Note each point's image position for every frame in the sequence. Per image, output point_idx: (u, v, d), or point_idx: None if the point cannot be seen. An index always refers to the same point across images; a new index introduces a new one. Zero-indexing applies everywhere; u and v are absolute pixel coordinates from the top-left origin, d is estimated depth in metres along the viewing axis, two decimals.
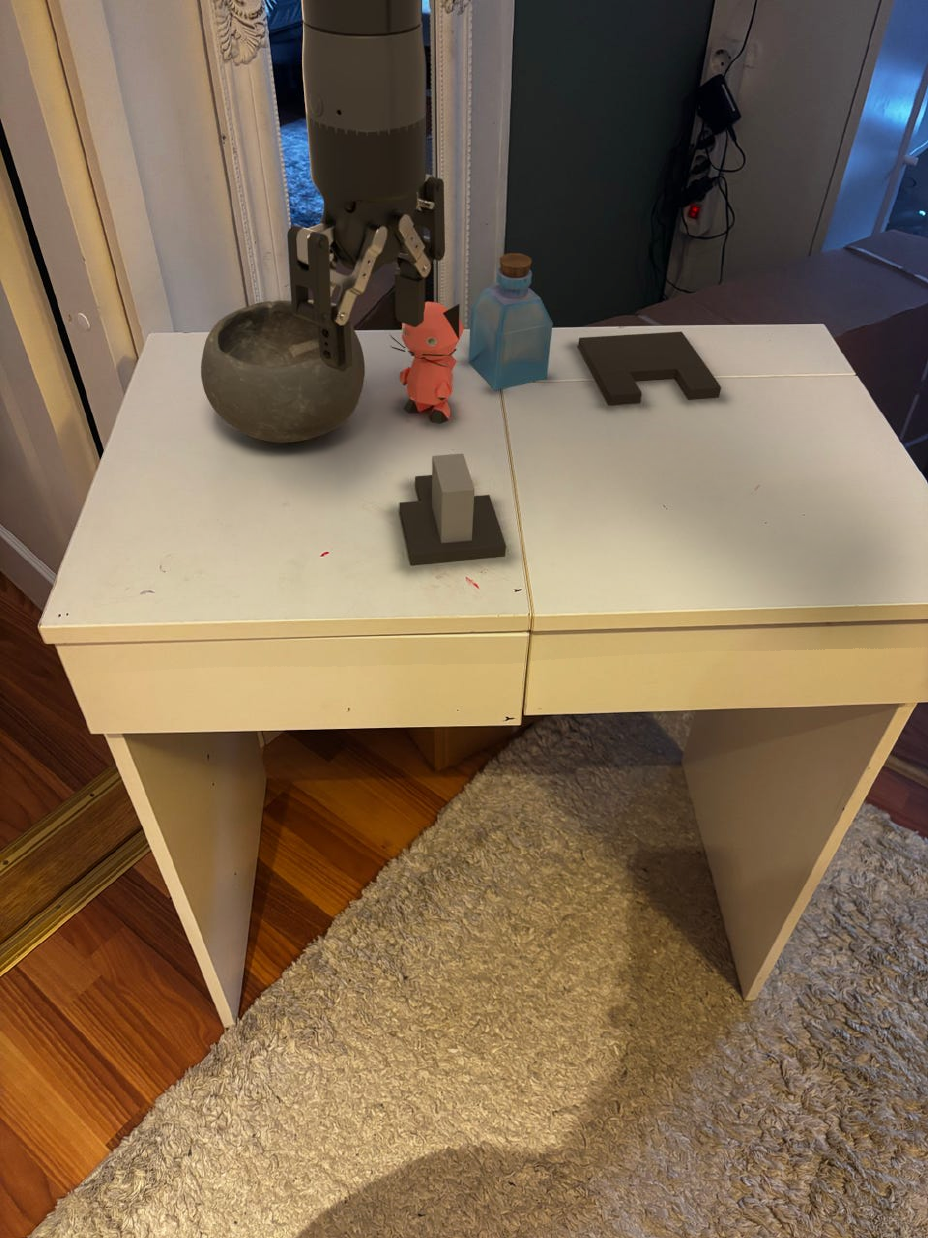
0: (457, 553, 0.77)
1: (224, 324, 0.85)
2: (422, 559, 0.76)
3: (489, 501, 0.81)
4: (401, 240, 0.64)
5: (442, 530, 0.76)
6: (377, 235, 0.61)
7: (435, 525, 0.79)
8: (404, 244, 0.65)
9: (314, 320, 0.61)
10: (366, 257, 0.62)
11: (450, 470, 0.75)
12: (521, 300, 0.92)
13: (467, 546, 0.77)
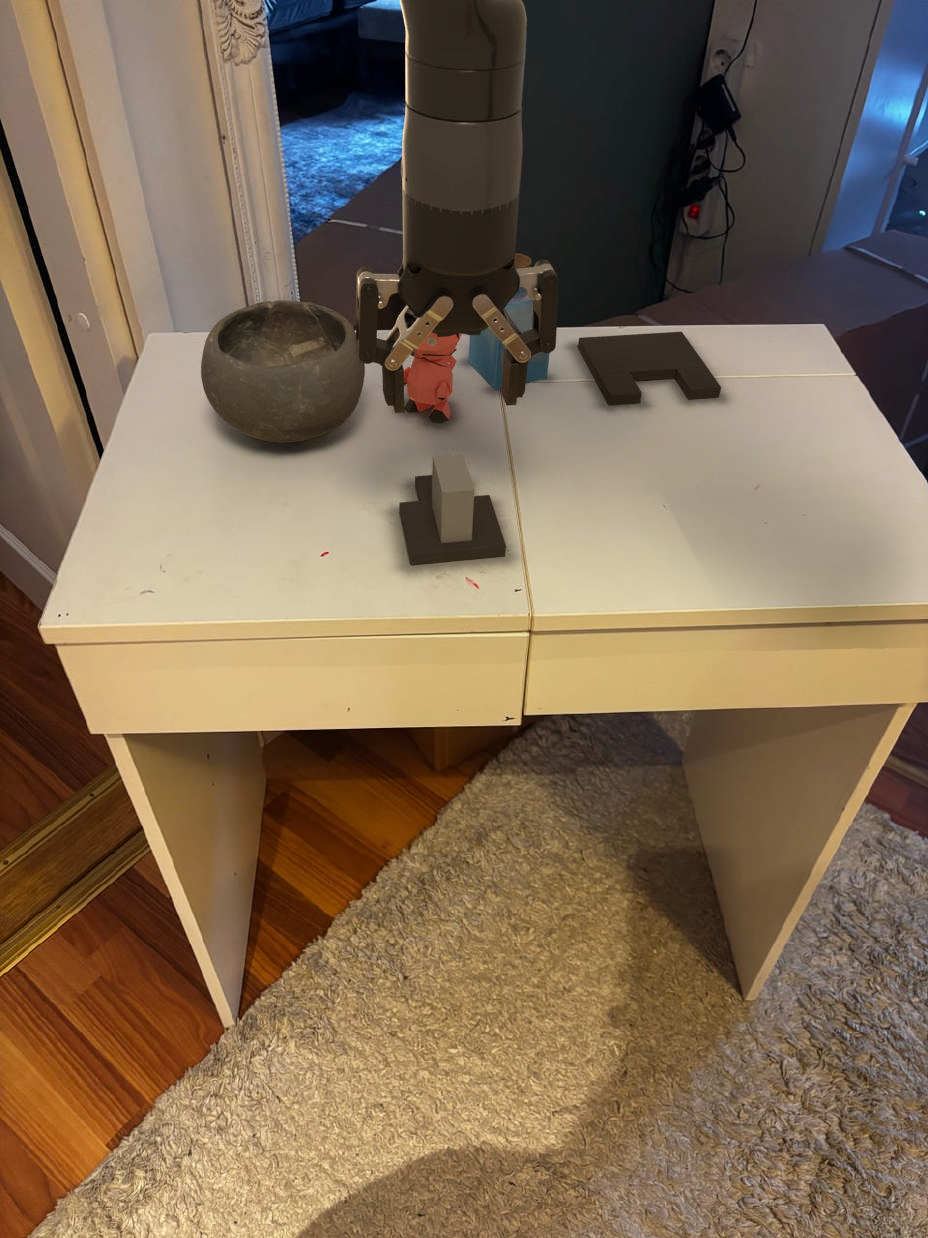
0: (457, 553, 0.77)
1: (224, 324, 0.85)
2: (422, 559, 0.76)
3: (489, 501, 0.81)
4: (483, 317, 0.65)
5: (442, 530, 0.76)
6: (437, 302, 0.63)
7: (435, 525, 0.79)
8: (486, 322, 0.65)
9: None
10: (423, 318, 0.63)
11: (450, 470, 0.75)
12: (521, 300, 0.92)
13: (467, 546, 0.77)
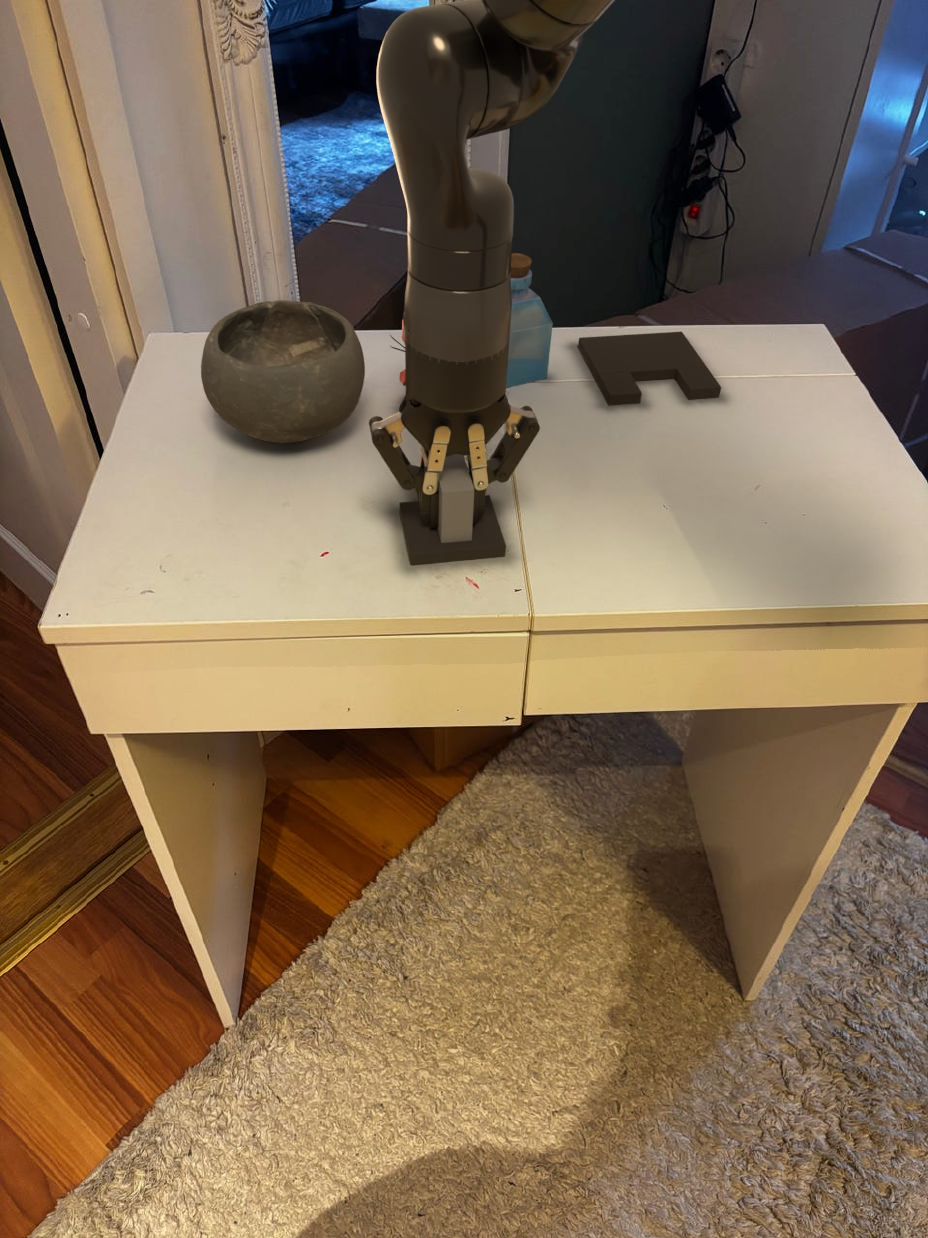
0: (457, 553, 0.77)
1: (224, 324, 0.85)
2: (422, 559, 0.76)
3: (489, 501, 0.81)
4: (468, 441, 0.72)
5: (442, 530, 0.76)
6: (436, 431, 0.70)
7: None
8: (469, 446, 0.72)
9: None
10: (433, 449, 0.71)
11: (450, 470, 0.75)
12: (521, 300, 0.92)
13: (467, 546, 0.77)
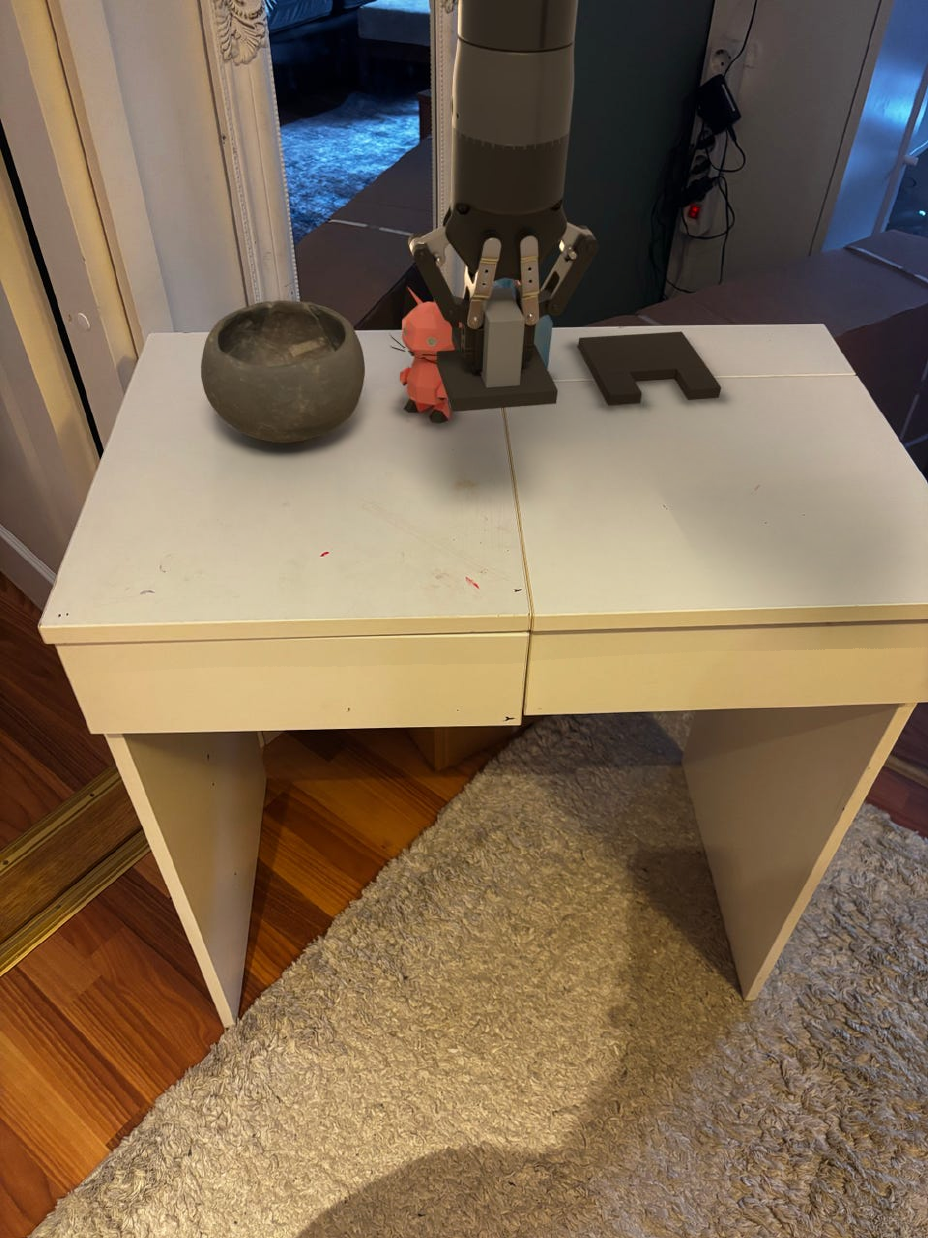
0: (504, 398, 0.69)
1: (224, 324, 0.85)
2: (465, 404, 0.69)
3: (535, 350, 0.74)
4: (519, 261, 0.64)
5: (488, 371, 0.68)
6: (485, 244, 0.62)
7: None
8: (520, 266, 0.64)
9: None
10: (480, 268, 0.64)
11: (496, 302, 0.68)
12: None
13: (515, 390, 0.69)
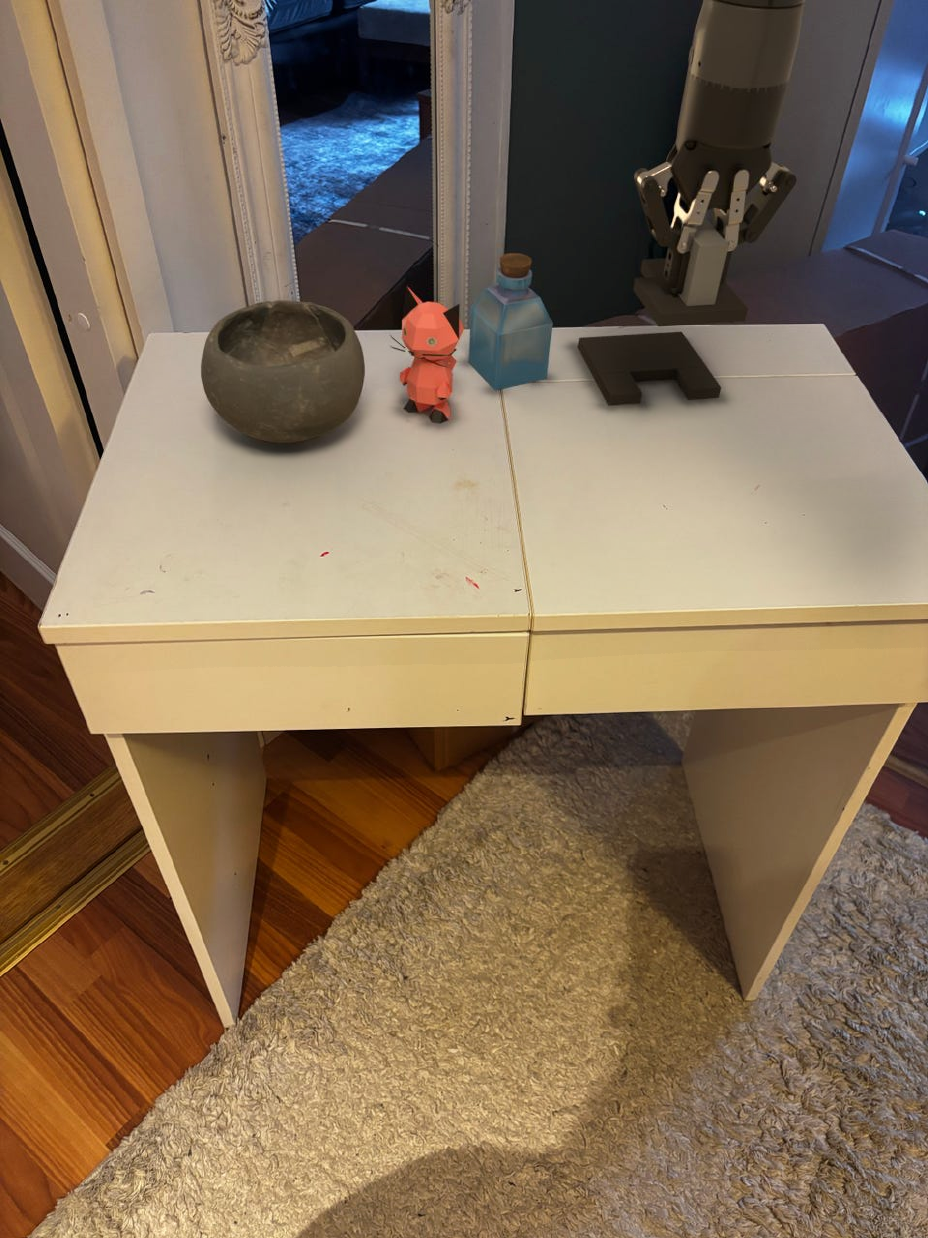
0: (702, 314, 0.80)
1: (224, 324, 0.85)
2: (670, 320, 0.80)
3: None
4: (730, 192, 0.75)
5: (691, 291, 0.79)
6: (706, 176, 0.73)
7: None
8: (730, 197, 0.75)
9: (656, 239, 0.77)
10: (698, 198, 0.75)
11: (700, 231, 0.79)
12: (521, 300, 0.92)
13: (712, 308, 0.80)
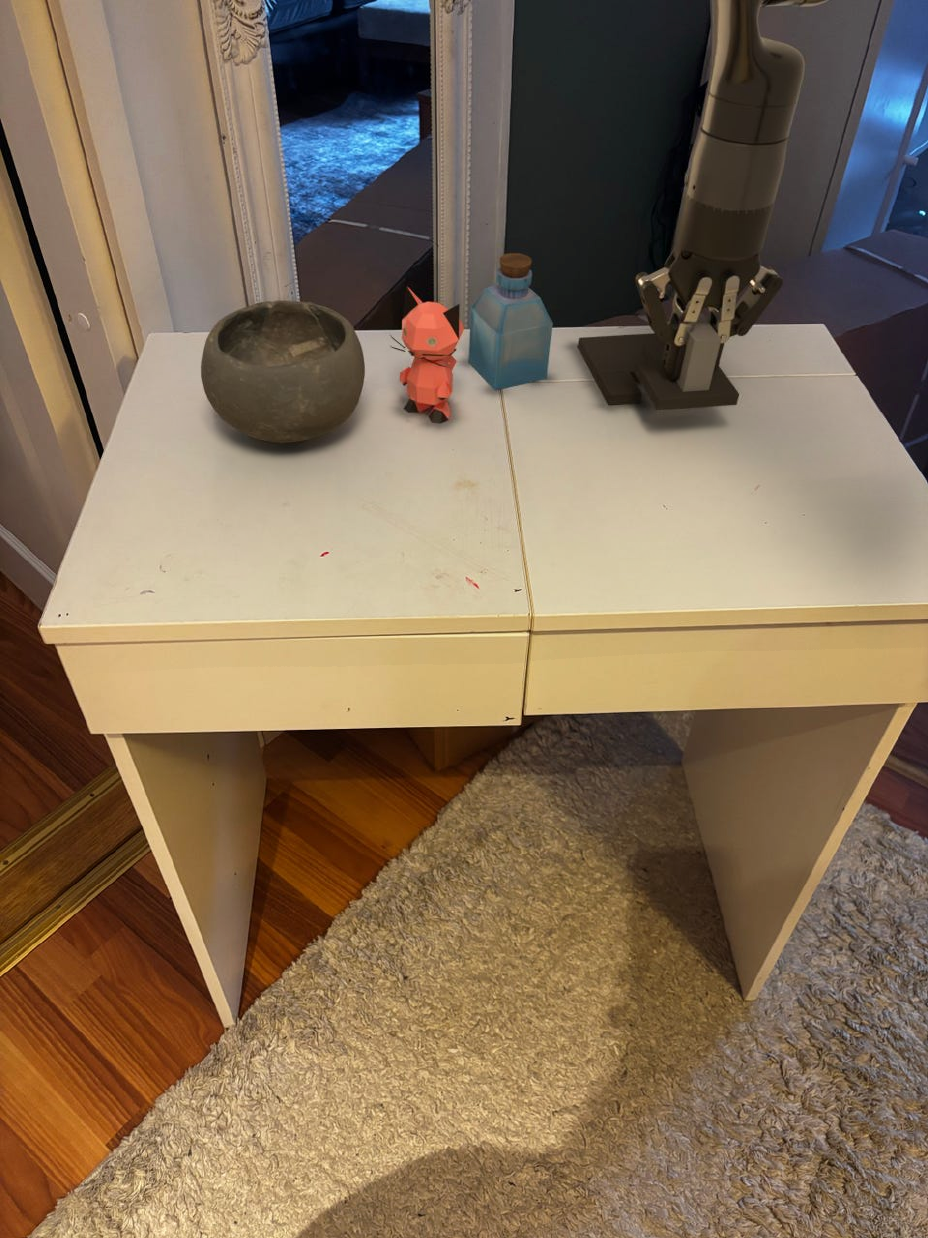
0: (697, 400, 0.88)
1: (224, 324, 0.85)
2: (668, 405, 0.87)
3: None
4: (722, 294, 0.83)
5: (687, 379, 0.87)
6: (700, 282, 0.81)
7: None
8: (722, 298, 0.83)
9: (655, 333, 0.85)
10: (693, 300, 0.82)
11: (696, 325, 0.86)
12: (521, 300, 0.92)
13: (706, 394, 0.88)
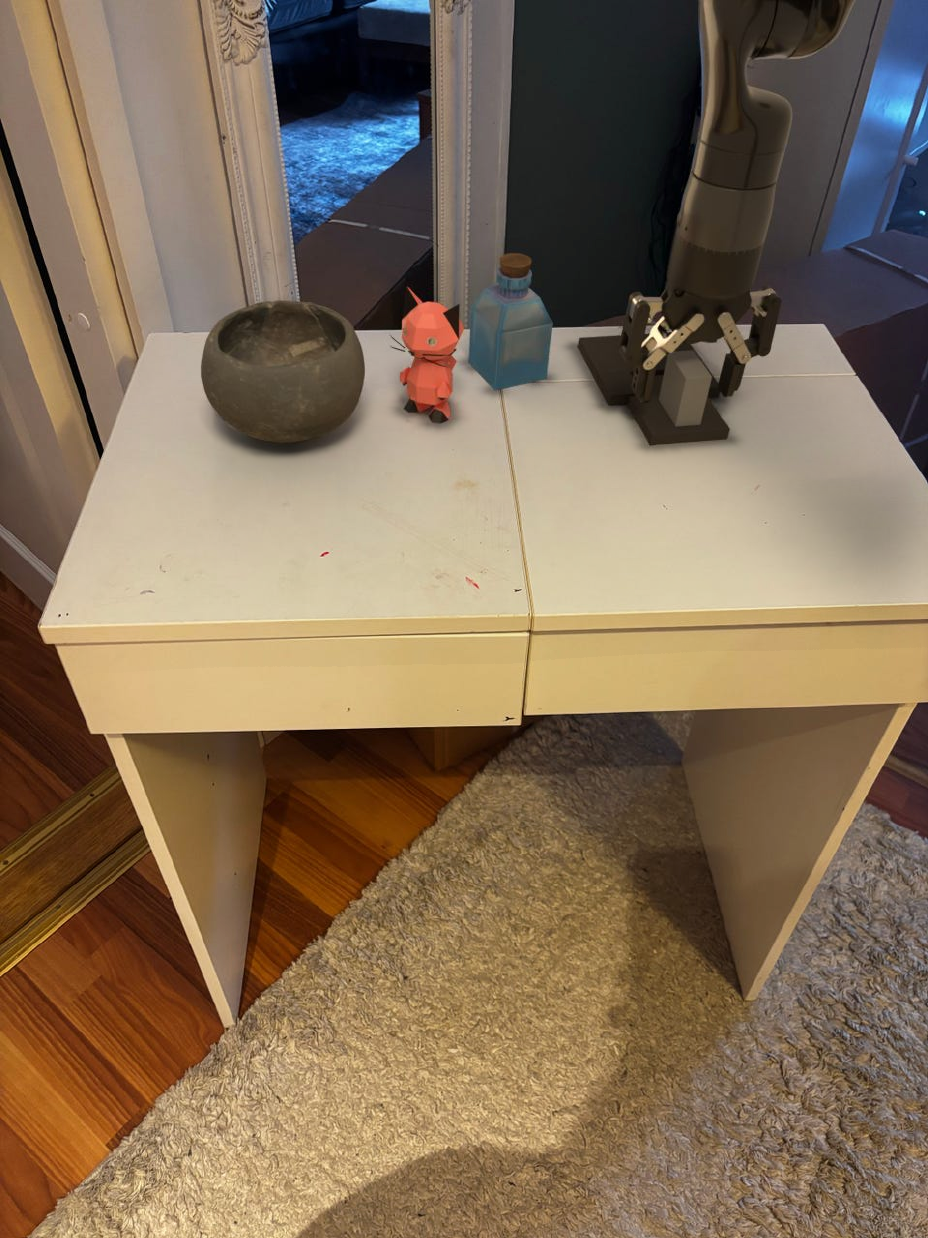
0: (689, 434, 0.90)
1: (224, 324, 0.85)
2: (660, 439, 0.90)
3: None
4: (721, 329, 0.85)
5: (679, 414, 0.90)
6: (693, 318, 0.83)
7: (666, 413, 0.92)
8: (723, 332, 0.85)
9: (624, 358, 0.86)
10: (680, 330, 0.84)
11: (687, 362, 0.89)
12: (521, 300, 0.92)
13: (698, 429, 0.90)
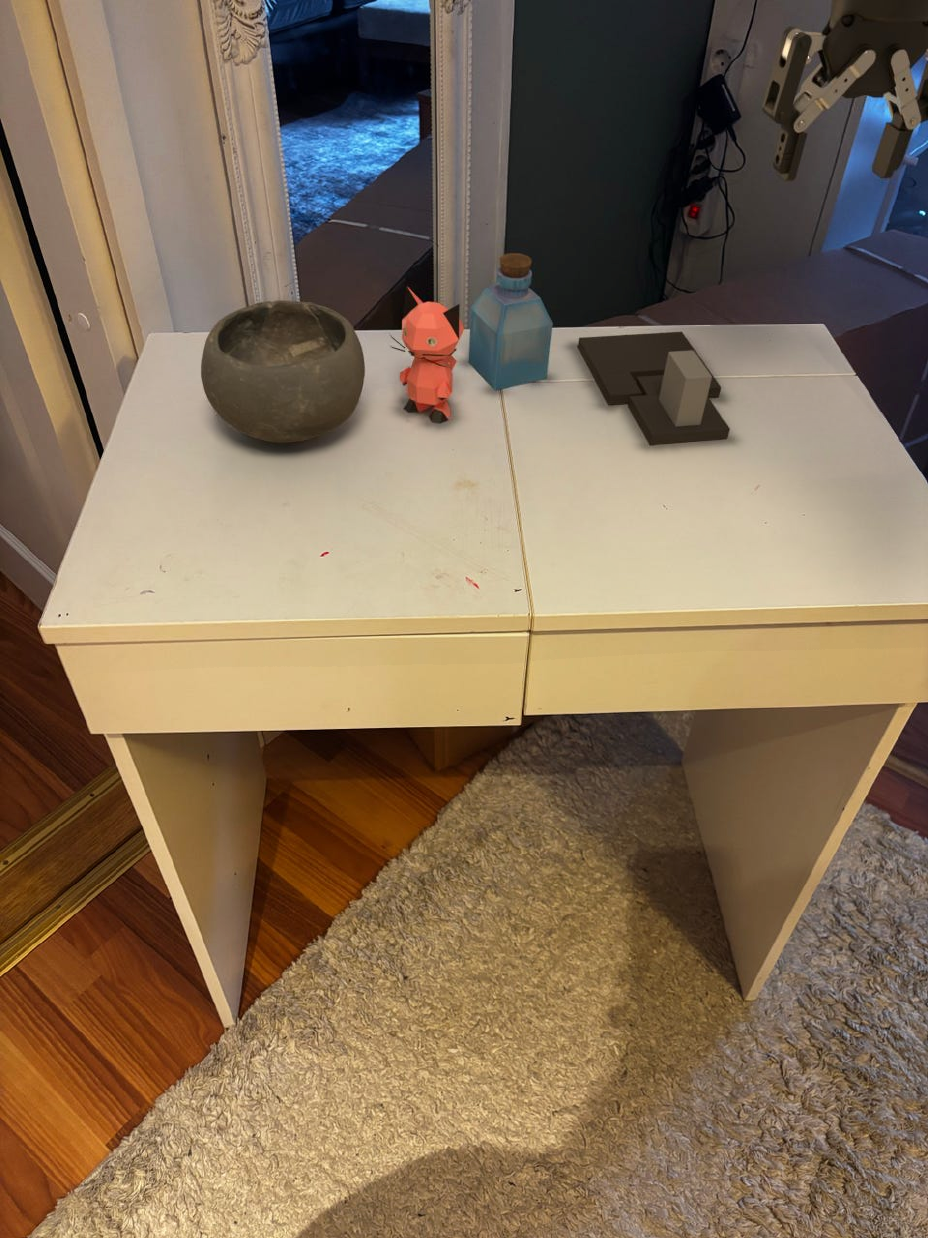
0: (689, 434, 0.90)
1: (224, 324, 0.85)
2: (660, 439, 0.90)
3: None
4: (892, 77, 0.70)
5: (679, 414, 0.90)
6: (862, 56, 0.68)
7: (666, 413, 0.92)
8: (894, 81, 0.70)
9: (772, 115, 0.71)
10: (844, 74, 0.69)
11: (687, 362, 0.89)
12: (521, 300, 0.92)
13: (698, 429, 0.90)
